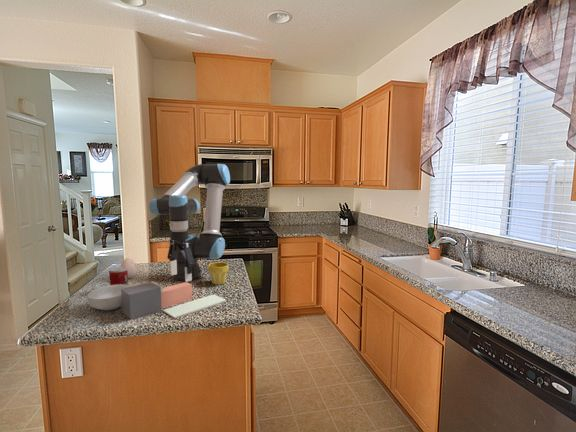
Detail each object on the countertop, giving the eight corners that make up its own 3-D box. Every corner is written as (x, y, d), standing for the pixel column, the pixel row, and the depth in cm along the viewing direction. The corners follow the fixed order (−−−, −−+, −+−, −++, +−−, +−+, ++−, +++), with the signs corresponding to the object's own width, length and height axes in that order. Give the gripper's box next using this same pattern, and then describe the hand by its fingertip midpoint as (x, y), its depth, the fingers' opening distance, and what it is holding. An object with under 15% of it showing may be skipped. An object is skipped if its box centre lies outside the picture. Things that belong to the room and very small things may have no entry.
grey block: (154, 303, 135) (152, 281, 134) (163, 309, 128) (162, 286, 127) (122, 312, 126) (120, 288, 125) (131, 319, 119) (129, 294, 118)
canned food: (121, 294, 147) (119, 271, 145) (106, 293, 148) (105, 270, 147) (132, 288, 154) (131, 267, 153) (118, 287, 156) (116, 266, 154)
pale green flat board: (213, 295, 144) (213, 294, 144) (226, 301, 137) (226, 299, 137) (163, 311, 127) (163, 309, 127) (174, 318, 120) (174, 317, 120)
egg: (140, 276, 173) (138, 256, 172) (129, 281, 165) (128, 260, 164) (128, 275, 175) (126, 256, 173) (117, 280, 167) (115, 259, 166)
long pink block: (186, 296, 144) (186, 282, 143) (192, 299, 140) (191, 284, 139) (142, 309, 129) (141, 293, 128) (147, 313, 126) (146, 296, 125)
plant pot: (232, 280, 166) (232, 262, 164) (222, 286, 156) (221, 268, 155) (215, 278, 169) (215, 261, 168) (204, 284, 159) (204, 266, 158)
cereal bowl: (104, 299, 141) (103, 283, 140) (140, 299, 140) (139, 284, 140) (78, 315, 124) (77, 298, 123) (119, 315, 124) (118, 298, 123)
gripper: (158, 228, 142) (160, 274, 144) (185, 234, 124) (187, 285, 126) (174, 227, 147) (175, 270, 149) (201, 232, 130) (203, 281, 132)
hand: (180, 277), depth 138 cm, fingers open, 13 cm apart
